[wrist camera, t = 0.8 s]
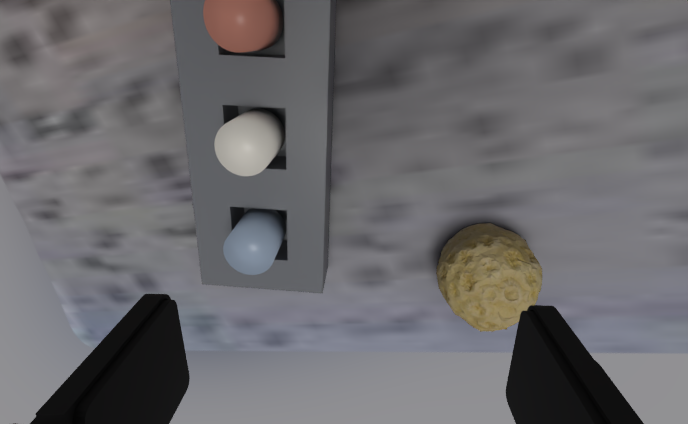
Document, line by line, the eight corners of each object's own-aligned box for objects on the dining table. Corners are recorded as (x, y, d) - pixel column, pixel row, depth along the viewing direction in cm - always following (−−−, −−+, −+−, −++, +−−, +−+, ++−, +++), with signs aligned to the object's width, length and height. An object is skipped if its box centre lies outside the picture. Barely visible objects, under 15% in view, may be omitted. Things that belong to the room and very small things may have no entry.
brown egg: (225, -13, 31) (200, -22, 26) (282, -11, 31) (266, -19, 26) (229, 49, 33) (206, 50, 28) (283, 51, 33) (269, 54, 28)
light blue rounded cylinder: (239, 204, 38) (221, 227, 34) (285, 207, 38) (273, 231, 33) (242, 246, 40) (225, 272, 35) (286, 249, 40) (275, 276, 35)
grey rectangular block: (190, -64, 33) (160, -80, 28) (338, -58, 32) (332, -74, 28) (219, 258, 45) (202, 284, 40) (327, 266, 44) (322, 293, 40)
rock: (431, 275, 48) (461, 358, 42) (417, 223, 39) (453, 318, 33) (511, 251, 47) (555, 332, 41) (516, 192, 38) (572, 284, 32)
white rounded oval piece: (233, 107, 35) (211, 117, 30) (284, 110, 34) (270, 121, 30) (236, 157, 36) (216, 174, 32) (285, 160, 36) (272, 178, 32)
